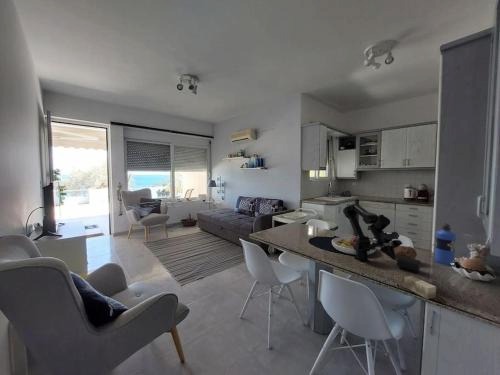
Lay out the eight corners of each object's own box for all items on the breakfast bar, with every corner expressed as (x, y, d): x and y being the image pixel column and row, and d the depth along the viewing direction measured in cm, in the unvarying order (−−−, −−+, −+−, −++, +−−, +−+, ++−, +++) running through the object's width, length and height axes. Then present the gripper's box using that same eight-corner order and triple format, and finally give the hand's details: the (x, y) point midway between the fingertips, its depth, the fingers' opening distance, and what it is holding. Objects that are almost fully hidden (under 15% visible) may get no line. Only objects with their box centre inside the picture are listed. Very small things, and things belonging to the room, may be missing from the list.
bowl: (373, 260, 135) (373, 249, 135) (326, 251, 153) (326, 240, 153) (378, 247, 159) (378, 238, 159) (337, 240, 177) (337, 231, 177)
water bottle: (431, 260, 134) (432, 222, 132) (439, 258, 137) (441, 221, 136) (449, 266, 125) (451, 226, 124) (458, 264, 128) (460, 224, 127)
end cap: (396, 268, 123) (397, 257, 123) (400, 265, 127) (401, 254, 127) (417, 275, 115) (418, 263, 115) (421, 271, 119) (421, 259, 119)
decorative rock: (415, 259, 135) (416, 245, 135) (417, 266, 126) (418, 250, 125) (391, 255, 143) (391, 241, 142) (391, 261, 133) (392, 246, 133)
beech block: (402, 276, 104) (427, 288, 92) (410, 274, 105) (436, 286, 93) (402, 285, 104) (427, 299, 93) (409, 284, 105) (435, 297, 94)
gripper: (376, 227, 111) (393, 254, 101) (400, 226, 117) (419, 252, 107) (362, 236, 119) (377, 263, 110) (386, 235, 125) (402, 260, 115)
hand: (394, 259), depth 110 cm, fingers closed
